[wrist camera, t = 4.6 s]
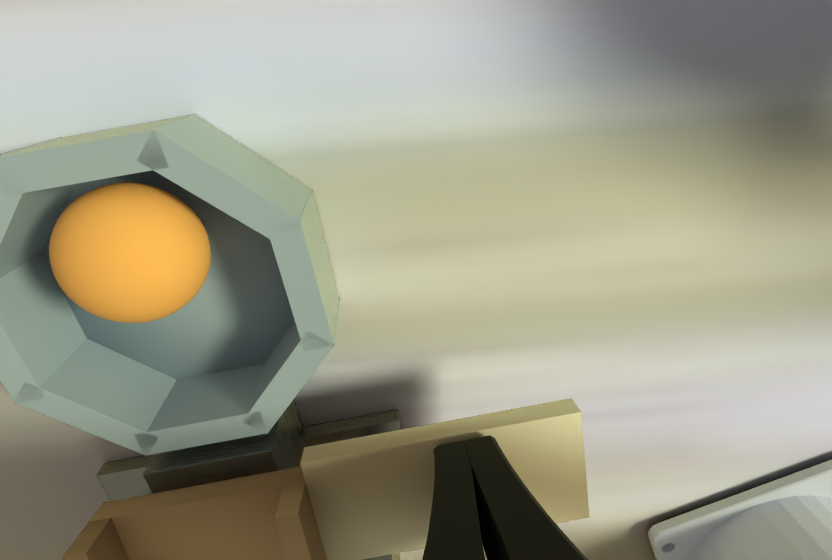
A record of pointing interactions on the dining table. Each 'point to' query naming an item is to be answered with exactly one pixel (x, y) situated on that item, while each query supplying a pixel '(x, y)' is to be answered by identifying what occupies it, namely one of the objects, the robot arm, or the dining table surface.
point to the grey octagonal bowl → (189, 326)
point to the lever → (341, 496)
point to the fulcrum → (237, 456)
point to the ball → (129, 252)
